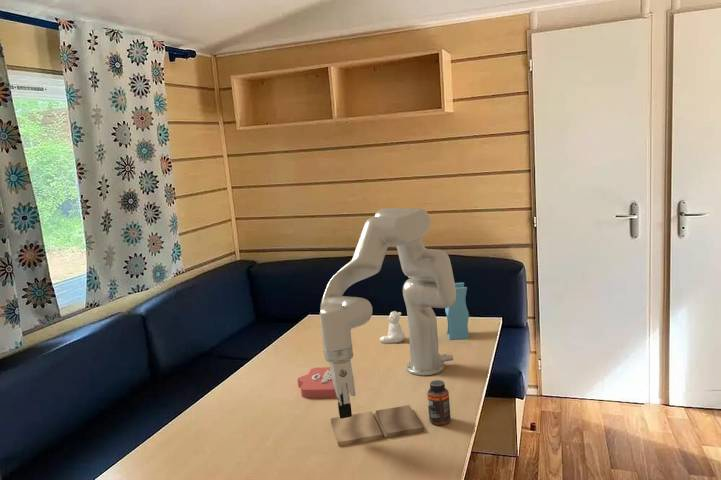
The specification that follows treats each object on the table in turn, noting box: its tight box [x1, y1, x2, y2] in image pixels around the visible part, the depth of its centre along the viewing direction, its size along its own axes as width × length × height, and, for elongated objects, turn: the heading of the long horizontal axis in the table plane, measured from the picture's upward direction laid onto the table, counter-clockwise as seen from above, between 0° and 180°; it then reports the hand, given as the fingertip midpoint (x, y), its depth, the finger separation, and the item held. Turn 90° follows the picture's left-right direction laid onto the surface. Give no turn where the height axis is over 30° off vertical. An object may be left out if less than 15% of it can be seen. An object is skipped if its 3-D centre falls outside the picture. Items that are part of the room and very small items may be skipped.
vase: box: [444, 282, 470, 341], centre depth 232 cm, size 8×8×20 cm
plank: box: [330, 411, 384, 447], centre depth 167 cm, size 12×14×1 cm
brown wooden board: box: [372, 404, 424, 439], centre depth 169 cm, size 11×14×1 cm
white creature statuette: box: [379, 310, 405, 344], centre depth 233 cm, size 10×9×12 cm
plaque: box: [297, 366, 338, 399], centre depth 198 cm, size 18×4×15 cm
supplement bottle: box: [426, 379, 451, 426], centre depth 167 cm, size 6×6×11 cm
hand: (345, 416), depth 162 cm, fingers closed
